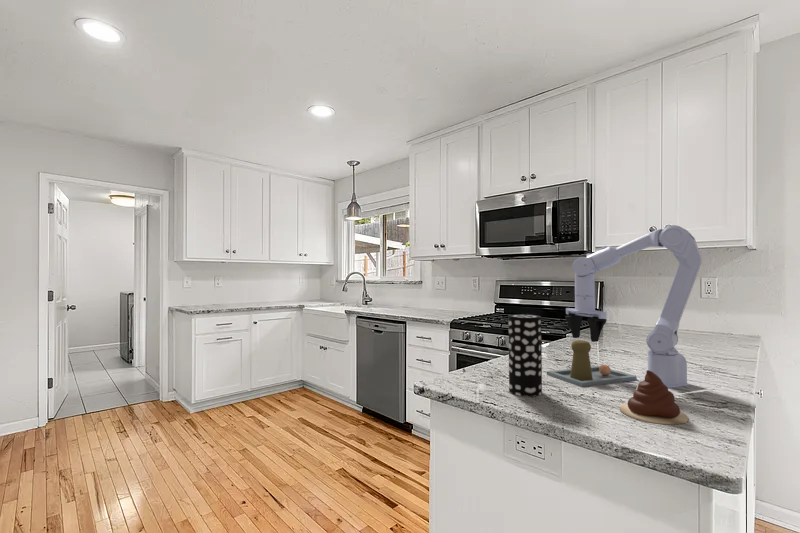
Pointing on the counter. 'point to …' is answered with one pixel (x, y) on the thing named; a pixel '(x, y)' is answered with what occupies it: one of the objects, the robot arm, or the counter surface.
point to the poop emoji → (653, 398)
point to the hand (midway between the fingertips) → (585, 339)
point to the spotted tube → (525, 355)
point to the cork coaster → (654, 417)
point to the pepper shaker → (581, 361)
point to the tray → (596, 375)
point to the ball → (604, 370)
